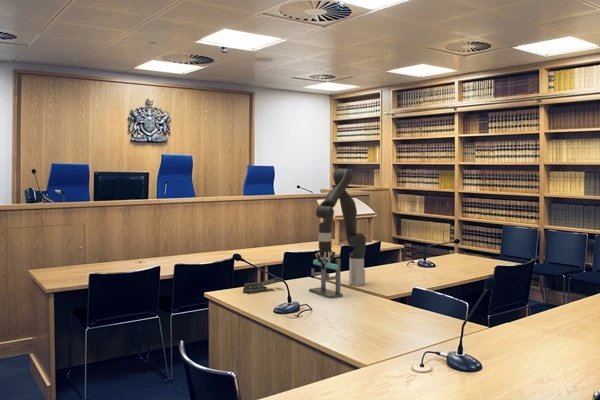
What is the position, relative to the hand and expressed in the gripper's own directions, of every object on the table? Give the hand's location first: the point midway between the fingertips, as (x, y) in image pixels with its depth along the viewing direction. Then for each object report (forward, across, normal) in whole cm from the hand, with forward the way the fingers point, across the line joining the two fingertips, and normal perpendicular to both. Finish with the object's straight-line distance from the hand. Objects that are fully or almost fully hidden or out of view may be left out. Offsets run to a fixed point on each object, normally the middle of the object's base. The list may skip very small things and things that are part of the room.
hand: (325, 269), depth 313 cm
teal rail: (-2, 0, 0) cm, 2 cm away
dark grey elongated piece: (+15, +27, -27) cm, 41 cm away
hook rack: (+15, 0, 0) cm, 15 cm away
